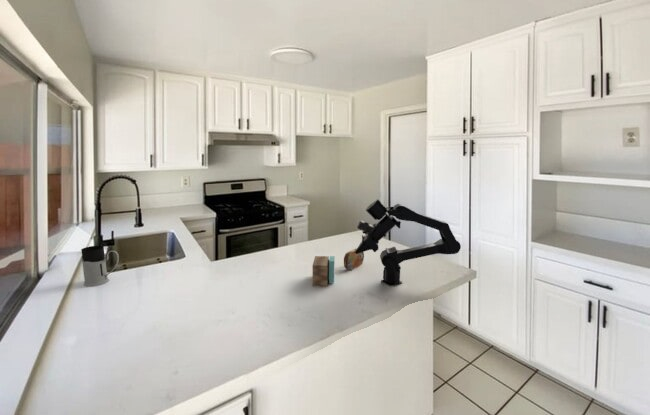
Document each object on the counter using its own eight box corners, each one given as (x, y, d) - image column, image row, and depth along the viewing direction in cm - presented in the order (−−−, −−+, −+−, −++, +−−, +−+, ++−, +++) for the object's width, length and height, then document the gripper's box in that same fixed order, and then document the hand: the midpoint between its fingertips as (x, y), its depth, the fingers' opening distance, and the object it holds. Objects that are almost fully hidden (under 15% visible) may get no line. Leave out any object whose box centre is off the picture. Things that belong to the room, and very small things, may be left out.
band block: (329, 275, 144) (329, 256, 142) (328, 286, 132) (328, 265, 130) (315, 275, 144) (315, 256, 143) (312, 286, 132) (312, 265, 131)
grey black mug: (92, 278, 139) (88, 245, 137) (126, 278, 140) (123, 244, 138) (78, 287, 131) (74, 251, 128) (115, 286, 132) (111, 250, 129)
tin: (347, 272, 148) (348, 254, 147) (342, 270, 150) (342, 253, 149) (364, 263, 160) (364, 247, 159) (358, 262, 162) (359, 246, 161)
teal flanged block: (334, 276, 141) (334, 256, 140) (333, 283, 134) (334, 261, 133) (314, 276, 142) (314, 255, 140) (313, 282, 135) (313, 260, 133)
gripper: (367, 210, 142) (342, 234, 144) (370, 218, 123) (341, 245, 126) (385, 228, 142) (360, 251, 145) (390, 238, 124) (361, 265, 126)
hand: (355, 253), depth 135 cm, fingers closed
